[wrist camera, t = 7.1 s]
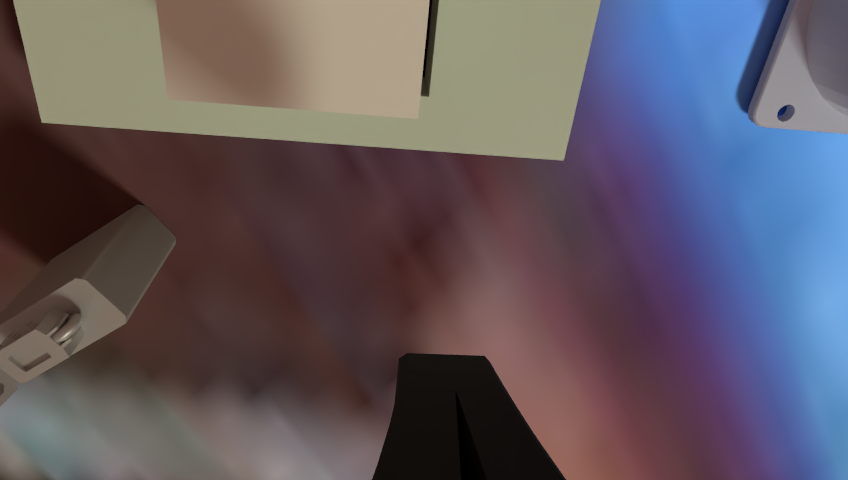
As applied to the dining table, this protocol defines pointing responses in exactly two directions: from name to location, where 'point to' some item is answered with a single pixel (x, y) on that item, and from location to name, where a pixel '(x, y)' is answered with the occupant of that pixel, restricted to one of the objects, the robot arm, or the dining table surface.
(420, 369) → the robot arm
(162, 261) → the lighter
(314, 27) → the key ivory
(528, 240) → the dining table surface
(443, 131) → the panel
